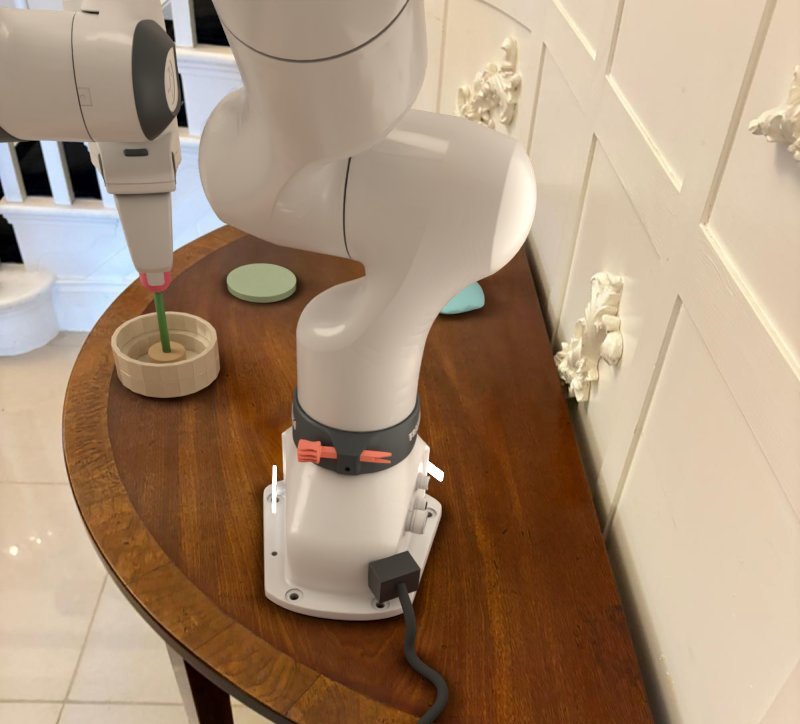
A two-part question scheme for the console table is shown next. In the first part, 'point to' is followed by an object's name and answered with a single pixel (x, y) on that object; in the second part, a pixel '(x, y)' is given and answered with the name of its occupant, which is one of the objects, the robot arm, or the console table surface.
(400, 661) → the console table surface
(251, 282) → the coaster
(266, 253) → the console table surface
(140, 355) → the bowl
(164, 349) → the tulip
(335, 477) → the robot arm
